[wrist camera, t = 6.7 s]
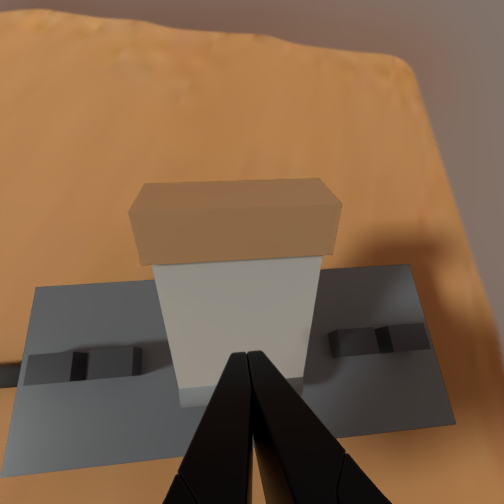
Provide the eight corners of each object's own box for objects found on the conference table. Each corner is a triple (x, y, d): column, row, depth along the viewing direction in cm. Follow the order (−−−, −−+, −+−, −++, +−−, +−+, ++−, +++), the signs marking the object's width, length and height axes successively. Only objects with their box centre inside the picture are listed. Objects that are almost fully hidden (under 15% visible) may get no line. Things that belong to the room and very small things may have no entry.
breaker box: (408, 412, 18) (479, 429, 13) (-103, 469, 15) (-271, 520, 10) (376, 283, 20) (424, 255, 15) (-57, 312, 18) (-169, 290, 13)
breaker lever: (304, 404, 13) (342, 203, 8) (178, 418, 12) (128, 211, 7) (294, 365, 14) (319, 178, 9) (182, 375, 14) (144, 183, 9)
